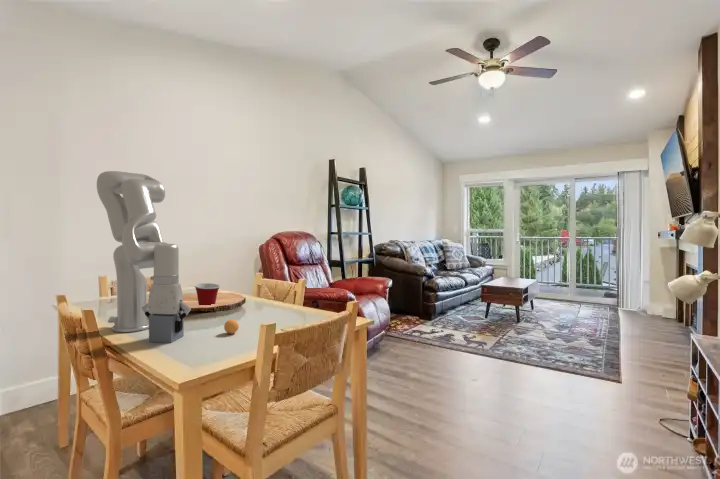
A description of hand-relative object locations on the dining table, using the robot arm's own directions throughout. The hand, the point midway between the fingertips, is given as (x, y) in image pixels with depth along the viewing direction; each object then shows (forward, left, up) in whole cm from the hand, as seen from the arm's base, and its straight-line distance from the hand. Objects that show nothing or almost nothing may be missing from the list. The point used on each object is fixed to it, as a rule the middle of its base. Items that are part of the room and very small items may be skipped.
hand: (166, 331), depth 130 cm
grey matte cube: (0, 0, -3) cm, 3 cm away
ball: (+19, +9, 0) cm, 21 cm away
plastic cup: (-5, +42, -3) cm, 42 cm away
